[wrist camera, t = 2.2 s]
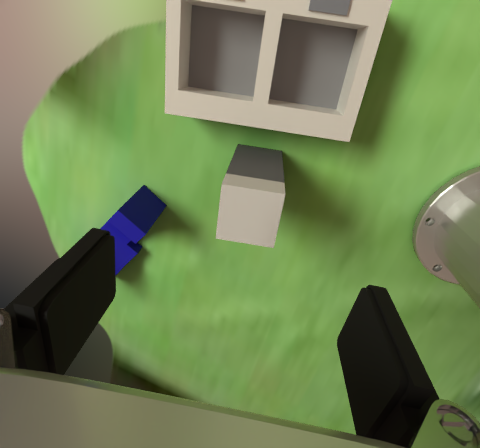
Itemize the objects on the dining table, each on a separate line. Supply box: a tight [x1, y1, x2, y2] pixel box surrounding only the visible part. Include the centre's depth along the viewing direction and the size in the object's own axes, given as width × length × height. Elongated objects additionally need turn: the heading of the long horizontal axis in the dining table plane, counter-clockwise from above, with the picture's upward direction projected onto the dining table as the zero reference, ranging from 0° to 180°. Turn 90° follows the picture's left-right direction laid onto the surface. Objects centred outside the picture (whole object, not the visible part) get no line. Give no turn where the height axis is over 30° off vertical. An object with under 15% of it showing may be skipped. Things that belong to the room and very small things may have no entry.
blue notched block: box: [101, 185, 167, 276], centre depth 31 cm, size 12×4×6 cm, turn 133°
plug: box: [216, 144, 285, 248], centre depth 25 cm, size 4×4×10 cm
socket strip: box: [165, 0, 392, 142], centre depth 23 cm, size 14×9×4 cm, turn 83°
